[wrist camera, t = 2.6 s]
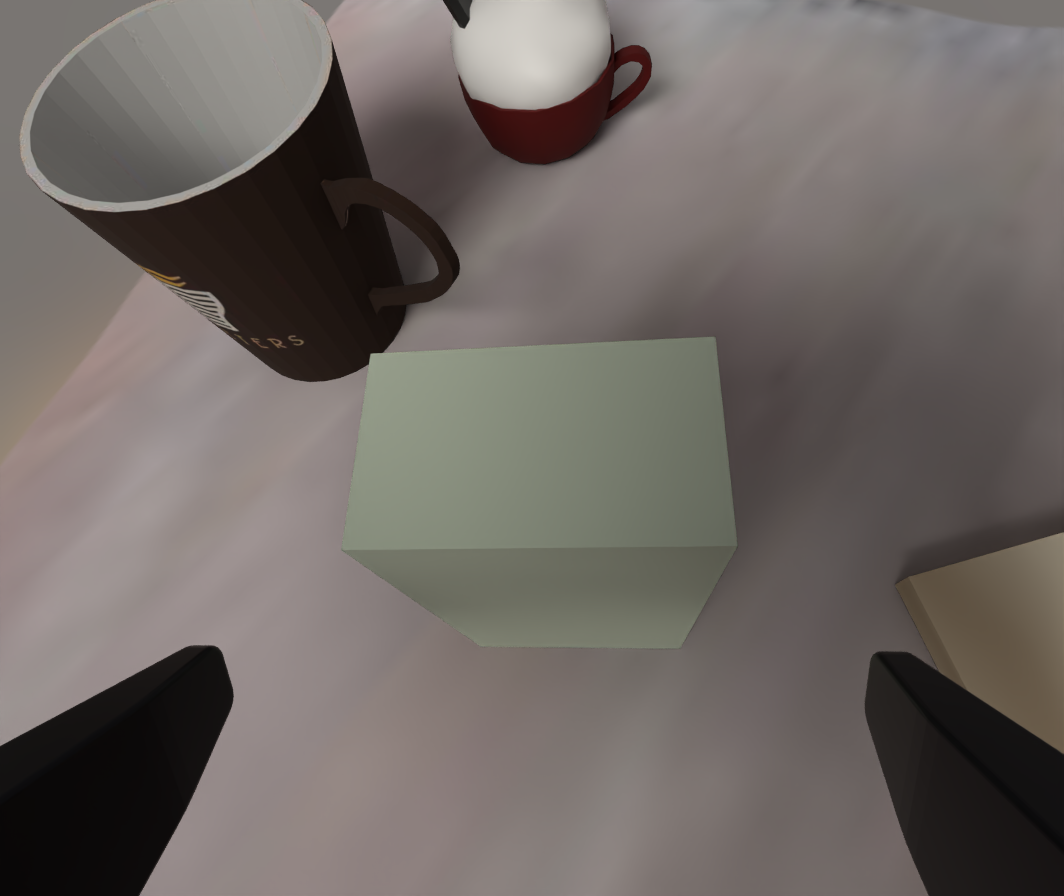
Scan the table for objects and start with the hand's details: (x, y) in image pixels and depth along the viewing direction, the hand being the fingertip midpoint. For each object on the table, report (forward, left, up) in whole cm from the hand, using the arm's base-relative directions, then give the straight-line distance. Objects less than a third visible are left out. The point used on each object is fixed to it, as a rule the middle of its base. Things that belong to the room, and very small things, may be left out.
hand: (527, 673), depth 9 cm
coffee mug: (-5, +15, -11) cm, 20 cm away
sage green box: (+1, +3, -11) cm, 12 cm away
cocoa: (+5, +23, -11) cm, 27 cm away
